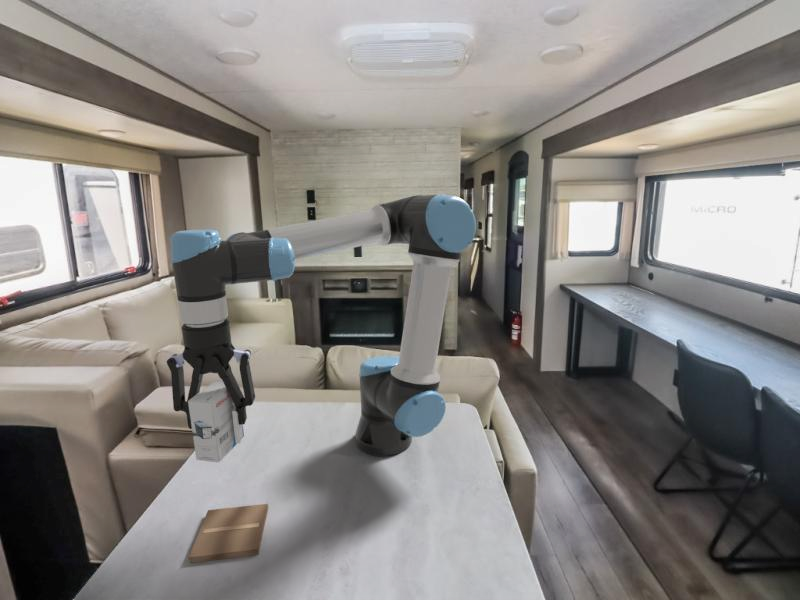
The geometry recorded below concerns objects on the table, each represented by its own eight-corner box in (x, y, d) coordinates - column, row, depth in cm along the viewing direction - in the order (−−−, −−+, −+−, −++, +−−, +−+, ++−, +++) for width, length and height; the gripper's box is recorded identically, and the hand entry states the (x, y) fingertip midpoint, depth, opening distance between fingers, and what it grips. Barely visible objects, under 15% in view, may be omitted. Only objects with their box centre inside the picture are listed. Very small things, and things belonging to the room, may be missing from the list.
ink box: (222, 434, 84) (214, 379, 81) (246, 436, 83) (238, 380, 80) (195, 461, 75) (185, 400, 73) (221, 463, 74) (212, 401, 72)
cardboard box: (268, 508, 90) (267, 503, 90) (258, 554, 79) (257, 548, 78) (208, 515, 88) (208, 509, 88) (189, 562, 77) (188, 557, 77)
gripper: (265, 312, 78) (276, 426, 84) (155, 318, 75) (173, 434, 81) (258, 324, 71) (270, 447, 76) (135, 330, 68) (157, 458, 74)
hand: (220, 440), depth 79 cm, fingers closed on ink box, 6 cm apart
